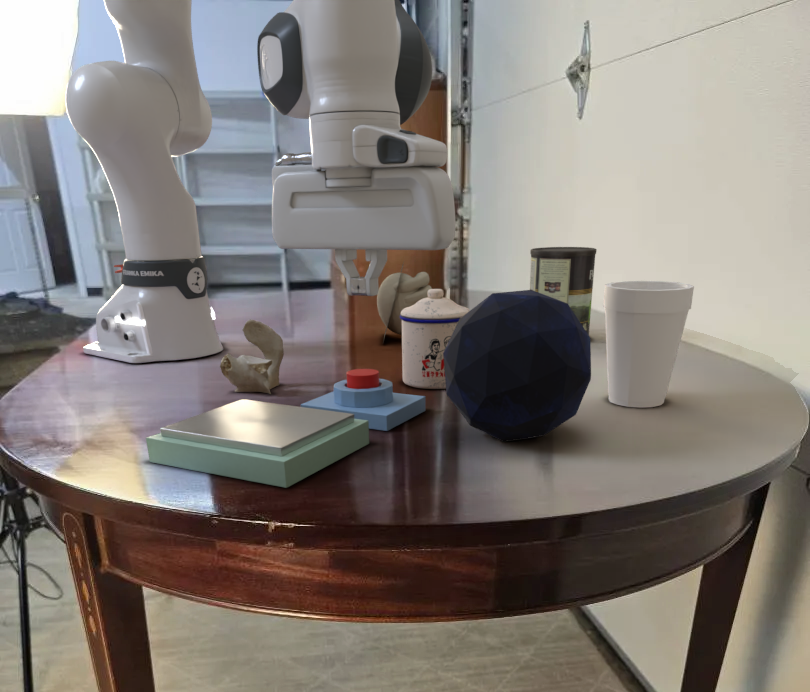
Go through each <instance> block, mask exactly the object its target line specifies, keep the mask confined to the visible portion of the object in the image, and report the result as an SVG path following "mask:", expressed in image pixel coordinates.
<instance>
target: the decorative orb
mask: <svg viewBox="0 0 810 692" xmlns="http://www.w3.org/2000/svg"><path fill="white" fill-rule="evenodd" d="M469 310H470V311H469V312H468V313H466V314H465V315H464V316H463V317H461V318H460V319H459V321H458V323H457V325H456V327H455V329H454V331H453V334H452V336H451V338H450V340H449V342H448V344H447V346H446V348H445V350H444V353H443V358H444V370H445V382H446V389H445V392H446V395H447V397H448V398H449V400H450V401H451V402H452V403H453V405H454V406H455V407H456V409H457V411H458V412H459V413H460V414H461V416H462V417H463V418H464V420H465V421H466V422H467V424H468V425H469V426H470V427H472V428H474V429H476V430H479V431H481V432H483V433H484V434H487V435H489V436H491V437H493V438H495V439H497V440H500V441H501V442H504V443H505V442H511V441H517V440H525V439H531V438H537V437H538V438H539V437H544V436H545V435H547V434H549V433H550V432H551V431H553V430H554V429H556V428H558V427H559V426H561V425H563V424H564V423H565V422H567V421H568V420H570V419H572V418H573V417H575V416H577V413H578V411H579V408H580V407H581V404H582V401H583V400H584V396H585V395H586V392H587V389H588V387H589V385H590V382H591V380H592V379H591V378H592V356H591V355H592V351H591V349H592V347H591V345H592V343H591V336H590V334H589V335H588V334H587V332H586V331H585V329H584V327H583V326H582V324H581V323H580V321H579V320H578V318H577V317H576V315H575V314H574V312H573V311H572V309H571V308H570V306H569V305H568V303H565V302H562V301H560V300H557V299H554V298H552V297H549V296H546V295H544V294H541V293H538V292H536V291H533V290H530V289H526V290H525V289H524V290H514V291H504V292H493V293H491V294H490V295H489V296H487V297H486V298H484V299H483V300H482V301H481V302H479V303H478V304H477V305H475V306H474V307H473V308H471V309H469Z"/></svg>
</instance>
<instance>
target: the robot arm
mask: <svg viewBox="0 0 810 692" xmlns="http://www.w3.org/2000/svg"><path fill="white" fill-rule="evenodd" d="M192 2H193V1H192V0H103V3H104V7H105V10H106V12H107V14H108V16H109V18H110V19H111V20H112V23H113V24H114V25H115V28H116V31H117V34H118V37H119V40H120V45H121V49H122V53H123V58H124V62H122V61H118V60H103V61H96V62H91V63H86V64H84V65H81V66H79V67H78V68H76V69H75V71H73V73H72V74H71V75H70V77H69V79H68V82H67V84H66V88H65V96H64V98H65V100H64V101H65V108H66V114H67V116H68V117H67V118H68V120H69V121H70V123H71V125H72V127H73V129H74V130H75V132H76V133H77V134H78V135H79V136H80V137H81V139H82V140H84V142H85V143H86V144H87V145H88V146H89V147H90V149H91V150H92V152H93V153H94V155H95V156H96V158H97V160H98V162H99V164H100V166H101V169H102V171H103V173H104V175H105V177H106V180H107V182H108V184H109V187H110V190H111V193H112V194H113V199H114V202H115V205H116V210H117V212H118V213H117V214H118V219H119V226H120V230H121V235H122V236H121V237H122V242H123V247H124V254H125V255H124V256H125V259H124V260H123V263H122V264H114V265H113V268H120V269H117V270H114V273H115V274H121V277H120V284H121V286H120V287H119V288H118V289H117V290H116V291H115V293H114V294H113V295H112V296H111V298H109V300H107V302H106V303H105V304H104V305H103V306H102V307H101V308H100V309H99V310H98V312H97V313H96V317H95V329H96V337H97V341H94V342H92V343H89V344H87V345H85V346H83V353H84V354H87V355H91V356H95V357H96V356H97V357H102V358H105V359H109V360H110V359H111V360H116V361H120V362H124V363H129V364H142V363H151V362H153V363H154V362H165V361H179V360H189V359H191V360H192V359H196V358H197V359H198V358H202V357H207V356H211V355H216V354H218V353H220V352H222V351H223V350H224V346H223V345H222V341H221V339H220V336H219V333H218V330H217V327H216V324H215V320H216V313H215V311H214V309H213V307H212V305H211V302H210V298H209V295H208V290H207V287H208V273H207V265H206V259H205V257H204V256H203V255H202V248H201V238H200V231H199V223H198V213H197V205H196V203H195V200H194V198H193V196H192V195H191V193H190V192H189V191H188V190H187V189H186V187H185V186H184V184H183V182H182V180H181V178H180V176H179V173H178V171H177V167H176V165H175V161H174V158H176V157H182V156H185V155H188V154H191V153H193V152H195V151H197V150H199V149H200V148H202V147H203V146H204V145H205V144H206V142H207V141H208V140H209V137H210V135H211V132H212V128H213V116H212V115H213V114H212V110H211V109H212V108H211V106H210V103H209V101H208V99H207V98H206V96H205V94H204V92H203V89H202V87H201V84H200V83H201V82H200V79H199V74H198V73H199V72H198V68H197V67H198V66H197V62H196V56H195V55H196V54H195V50H194V41H193V33H192V31H193V30H192ZM256 45H257V46H256V47H257V48H256V50H257V56H256V57H257V69H258V76H259V78H258V79H259V84H260V89H261V91H262V93H263V95H264V96H265V97H266V99H267V100H268V102H269V103H270V105H271V106H272V107H273V108H274V109H276V111H277V112H278V113H280V115H282V116H287V117H290V118H294V119H300V120H308V121H309V122H308V123H309V137H310V151H307V152H301V153H292V152H288V153H284V154H282V155H281V156H280V158H279V159H278V160H277V161H275V163H274V165H273V167H271V168H272V169H271V181H272V200H271V233H272V239H273V241H274V242H275V244H276V245H277V247H278V248H279V249H281V250H334V257H335V258H334V261H335V263H336V264H337V266H338V268H339V270H340V272H341V274H342V276H343V277H344V278H345V282H346V284H345V285H346V294H347V296H356V297H357V296H358V297H359V296H361V297H374V296H377V295H378V292H379V288H380V286H379V278H380V276H381V274H382V272H383V270H384V268H385V266H386V264H387V262H388V251H439V250H440V251H441V250H445V249H448V248H449V247H450V245H452V242H453V241H454V239H455V237H456V206H455V197H454V196H455V195H454V190H453V184H452V180H451V177H450V176H449V175H448V173H447V172H446V171H445V170H444V169H442V168H440V167H443V166H444V165H446V163H447V160H448V149H447V147H448V146H447V145H446V143H444V142H443V141H440V140H437V139H433V138H431V137H428V136H424V135H422V134H418V133H416V132H415V131H412V130H407V129H404V128H402V127H401V125H403V124H404V123H407V121H408V120H409V119H410V118H412V117H413V116H414V114H415V113H416V112H417V111H418V110H419V109H420V108H421V106H422V105H423V103H424V102H425V100H426V99H427V96H428V95H429V92H430V89H431V85H432V79H433V62H432V56H431V51H430V48H429V46H428V44H427V42H426V38H425V37H424V34H423V33H422V31H421V30H420V28H419V26H418V25H417V24H416V21H414V19H413V17H411V15H410V14H409V13H408V12H407V10H406V9H405V8H404V6H403V4H402V3H401V1H400V0H292V1H291V3H290V4H289V5H288V7H287V8H286V9H285V10H283V11H281V12H277V13H276V14H275V15H274V16H272V18H270V20H269V21H268V22H267V23H266V25H265V26H264V27H263V29H262V30H261V32H260V34H259V35H258V37H257V43H256ZM281 164H282V165H281ZM358 250H363V251H364V252H365V255H364V256H365V261H366V262H369V266H368V268H367V270H366V272H365V275H364V276H361V275H360V273H359V271H358V268H357V266H356V264H355V262H354V260H357V259H358V253H357V251H358Z"/></svg>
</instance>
